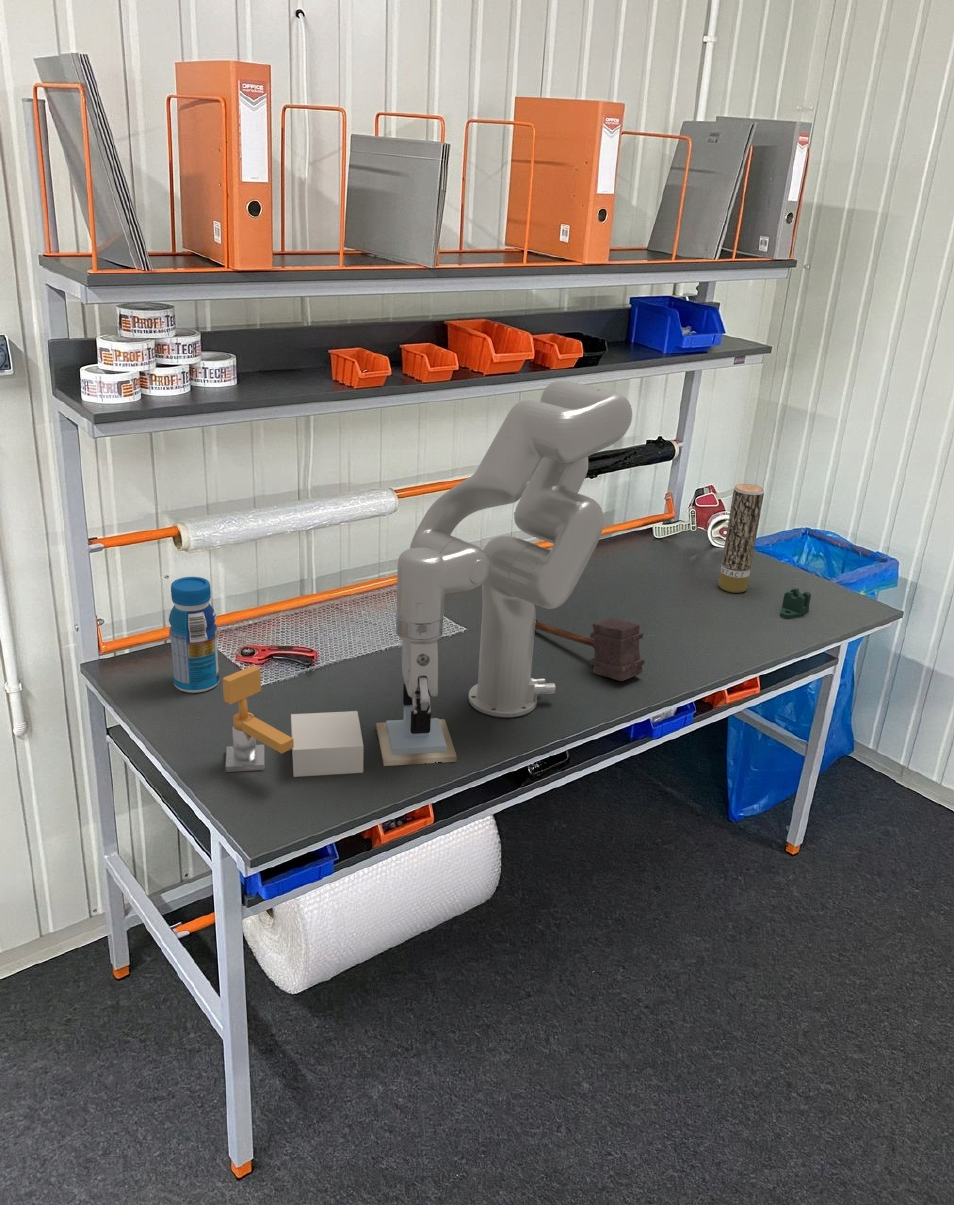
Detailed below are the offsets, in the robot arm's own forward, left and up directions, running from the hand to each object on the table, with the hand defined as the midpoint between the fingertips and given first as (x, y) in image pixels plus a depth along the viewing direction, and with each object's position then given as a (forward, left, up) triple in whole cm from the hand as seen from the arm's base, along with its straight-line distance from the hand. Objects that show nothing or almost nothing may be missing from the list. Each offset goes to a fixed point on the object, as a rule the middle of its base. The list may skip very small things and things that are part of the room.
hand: (416, 717), depth 170 cm
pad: (0, 0, -5) cm, 5 cm away
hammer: (-37, -32, -6) cm, 49 cm away
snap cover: (0, 0, -4) cm, 4 cm away
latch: (+25, +5, +1) cm, 26 cm away
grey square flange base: (+28, +2, -5) cm, 29 cm away
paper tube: (-85, -61, -5) cm, 105 cm away
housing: (+15, +2, -5) cm, 16 cm away
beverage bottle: (+37, -25, -5) cm, 45 cm away
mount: (-94, -47, -6) cm, 105 cm away
